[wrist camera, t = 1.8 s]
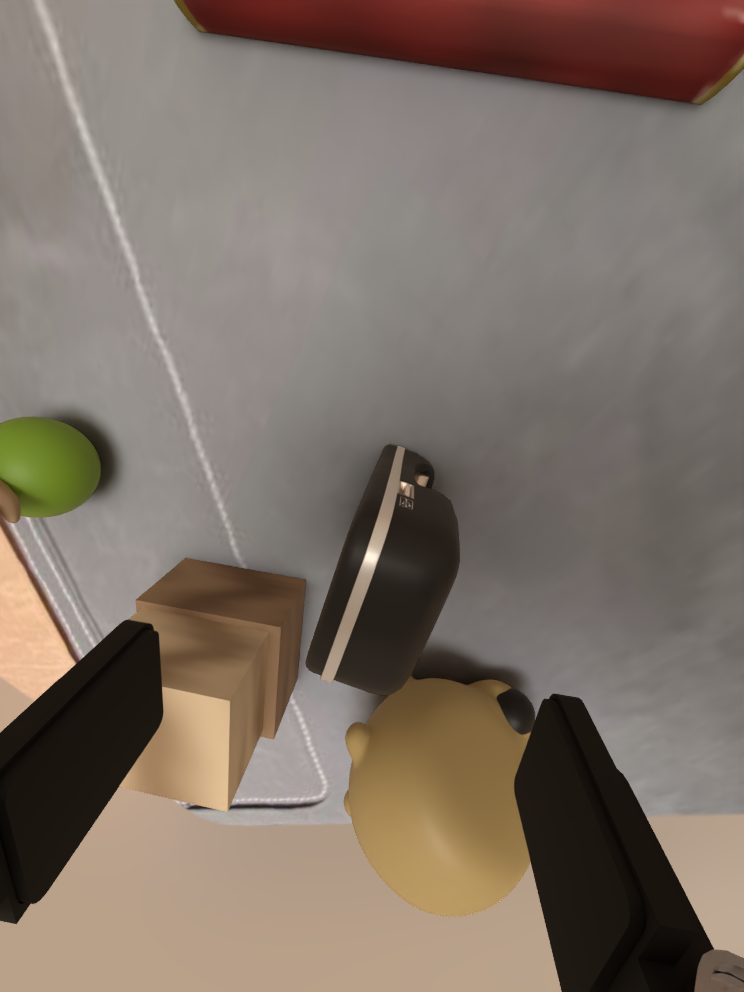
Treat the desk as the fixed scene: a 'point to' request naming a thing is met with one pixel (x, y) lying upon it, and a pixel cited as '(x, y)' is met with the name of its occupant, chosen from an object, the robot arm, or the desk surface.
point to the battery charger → (388, 579)
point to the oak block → (203, 709)
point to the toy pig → (442, 792)
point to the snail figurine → (44, 468)
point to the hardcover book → (514, 37)
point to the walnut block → (242, 616)
